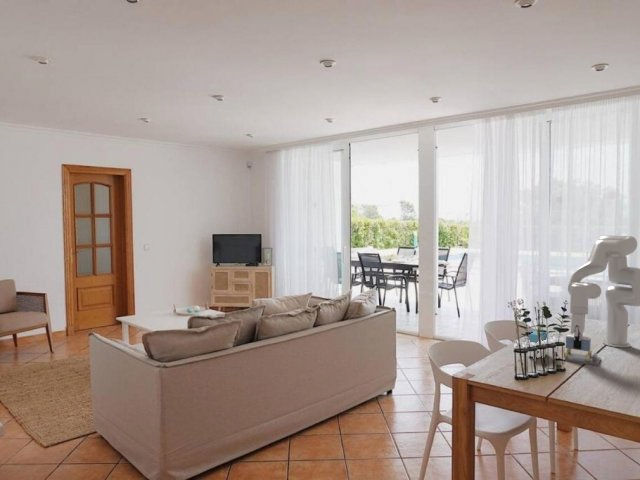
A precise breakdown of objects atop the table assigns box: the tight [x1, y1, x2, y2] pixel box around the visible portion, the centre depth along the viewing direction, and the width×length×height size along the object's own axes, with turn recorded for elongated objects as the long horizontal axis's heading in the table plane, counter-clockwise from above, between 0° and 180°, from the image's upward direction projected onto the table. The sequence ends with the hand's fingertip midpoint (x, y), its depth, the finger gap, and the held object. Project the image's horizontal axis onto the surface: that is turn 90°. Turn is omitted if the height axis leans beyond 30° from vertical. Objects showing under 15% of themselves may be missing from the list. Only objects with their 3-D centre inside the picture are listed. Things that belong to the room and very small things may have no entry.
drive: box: [565, 334, 592, 352], centre depth 228 cm, size 4×10×6 cm, turn 54°
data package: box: [528, 330, 548, 354], centre depth 234 cm, size 12×4×12 cm, turn 133°
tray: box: [564, 348, 602, 367], centre depth 228 cm, size 12×18×4 cm, turn 54°
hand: (578, 347), depth 228 cm, fingers closed on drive, 4 cm apart
